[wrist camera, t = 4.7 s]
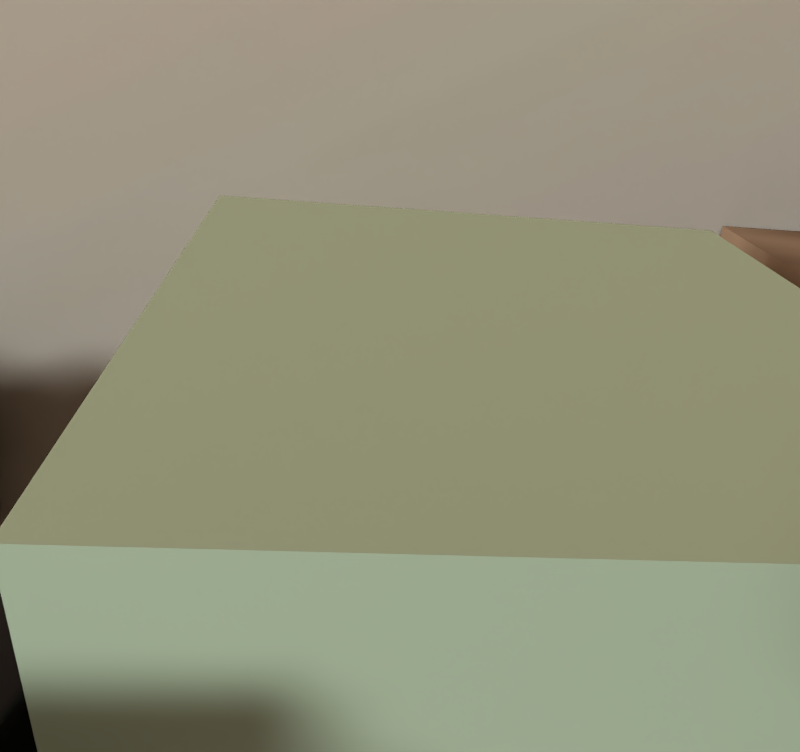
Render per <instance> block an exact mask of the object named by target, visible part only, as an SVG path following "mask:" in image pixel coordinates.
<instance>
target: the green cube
mask: <svg viewBox="0 0 800 752" xmlns="http://www.w3.org/2000/svg"><path fill="white" fill-rule="evenodd" d="M0 593H1V597H2V601H3V606H4V610H5V614H6V619H7V623H8V627H9V631H10V636H11V640H12V644H13V649H14V653H15V657H16V662H17V666H18V670H19V674H20V679H21V683H22V687H23V692H24V696H25V700H26V705H27V709H28V713H29V718H30V722H31V726H32V730H33V735H34V739H35V743H36V748H37V752H800V288H799V287H797V286H796V285H794V284H793V283H791V282H789V281H788V280H786V279H785V278H783V277H782V276H780V275H779V274H777V273H776V272H774V271H773V270H771V269H769V268H768V267H766V266H765V265H763V264H762V263H760V262H759V261H757V260H756V259H754V258H753V257H751V256H749V255H748V254H746V253H745V252H743V251H742V250H740V249H739V248H737V247H736V246H734V245H733V244H731V243H729V242H728V241H726V240H725V239H723V238H722V237H720V236H719V235H717V234H716V233H714V232H713V231H710V230H696V229H682V228H668V227H654V226H640V225H626V224H612V223H598V222H584V221H570V220H556V219H542V218H528V217H514V216H500V215H486V214H472V213H458V212H443V211H429V210H415V209H401V208H387V207H373V206H359V205H345V204H331V203H317V202H303V201H289V200H275V199H261V198H247V197H233V196H219V197H218V199H217V200H216V202H215V203H214V205H213V206H212V208H211V209H210V211H209V212H208V214H207V215H206V217H205V219H204V220H203V222H202V223H201V225H200V226H199V228H198V229H197V231H196V232H195V234H194V235H193V237H192V238H191V240H190V241H189V243H188V244H187V246H186V247H185V249H184V250H183V252H182V253H181V255H180V256H179V258H178V259H177V261H176V262H175V264H174V265H173V267H172V268H171V270H170V271H169V273H168V274H167V276H166V277H165V279H164V280H163V282H162V283H161V285H160V286H159V288H158V289H157V291H156V292H155V294H154V295H153V297H152V299H151V300H150V302H149V303H148V305H147V306H146V308H145V309H144V311H143V312H142V314H141V315H140V317H139V318H138V320H137V321H136V323H135V324H134V326H133V327H132V329H131V330H130V332H129V333H128V335H127V336H126V338H125V339H124V341H123V342H122V344H121V345H120V347H119V348H118V350H117V351H116V353H115V354H114V356H113V357H112V359H111V360H110V362H109V363H108V365H107V366H106V368H105V369H104V371H103V372H102V374H101V375H100V377H99V379H98V380H97V382H96V383H95V385H94V386H93V388H92V389H91V391H90V392H89V394H88V395H87V397H86V398H85V400H84V401H83V403H82V404H81V406H80V407H79V409H78V410H77V412H76V413H75V415H74V416H73V418H72V419H71V421H70V422H69V424H68V425H67V427H66V428H65V430H64V431H63V433H62V434H61V436H60V437H59V439H58V440H57V442H56V443H55V445H54V446H53V448H52V449H51V451H50V452H49V454H48V455H47V457H46V459H45V460H44V462H43V463H42V465H41V466H40V468H39V469H38V471H37V472H36V474H35V475H34V477H33V478H32V480H31V481H30V483H29V484H28V486H27V487H26V489H25V490H24V492H23V493H22V495H21V496H20V498H19V499H18V501H17V502H16V504H15V505H14V507H13V508H12V510H11V511H10V513H9V514H8V516H7V517H6V519H5V520H4V522H3V523H2V525H1V526H0Z"/></svg>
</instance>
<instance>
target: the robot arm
mask: <svg viewBox="0 0 800 752" xmlns="http://www.w3.org/2000/svg"><path fill="white" fill-rule="evenodd" d="M0 752H37V748H36V743H35V739H34V735H33V730H32V726H31V722H30V718H29V713H28V709H27V705H26V700H25V696H24V692H23V687H22V683H21V679H20V674H19V670H18V666H17V662H16V657H15V653H14V649H13V644H12V640H11V636H10V631H9V627H8V623H7V619H6V614H5V610H4V606H3V601H2V597H1V593H0Z"/></svg>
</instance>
